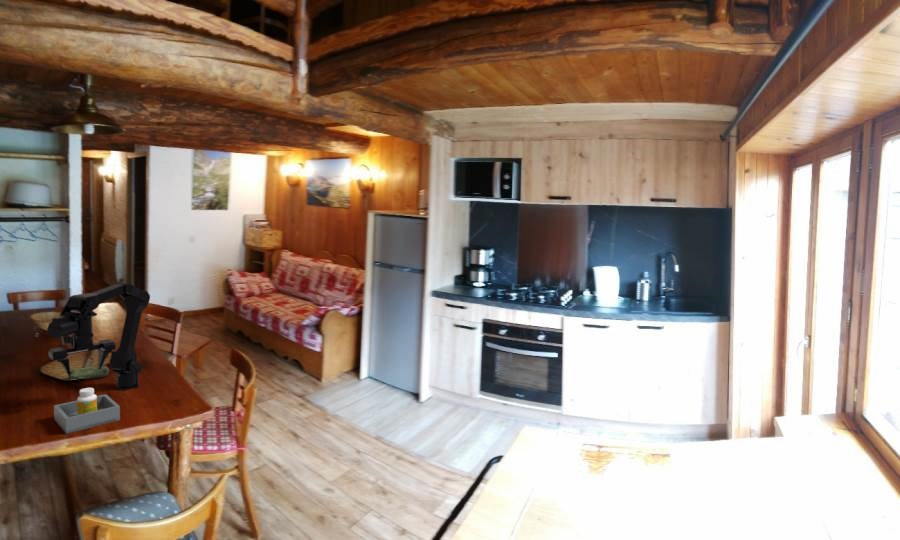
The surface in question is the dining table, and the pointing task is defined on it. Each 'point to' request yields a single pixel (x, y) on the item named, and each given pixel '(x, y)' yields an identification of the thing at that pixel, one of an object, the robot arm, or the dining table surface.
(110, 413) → the tote
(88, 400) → the supplement bottle
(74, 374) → the vegetable
